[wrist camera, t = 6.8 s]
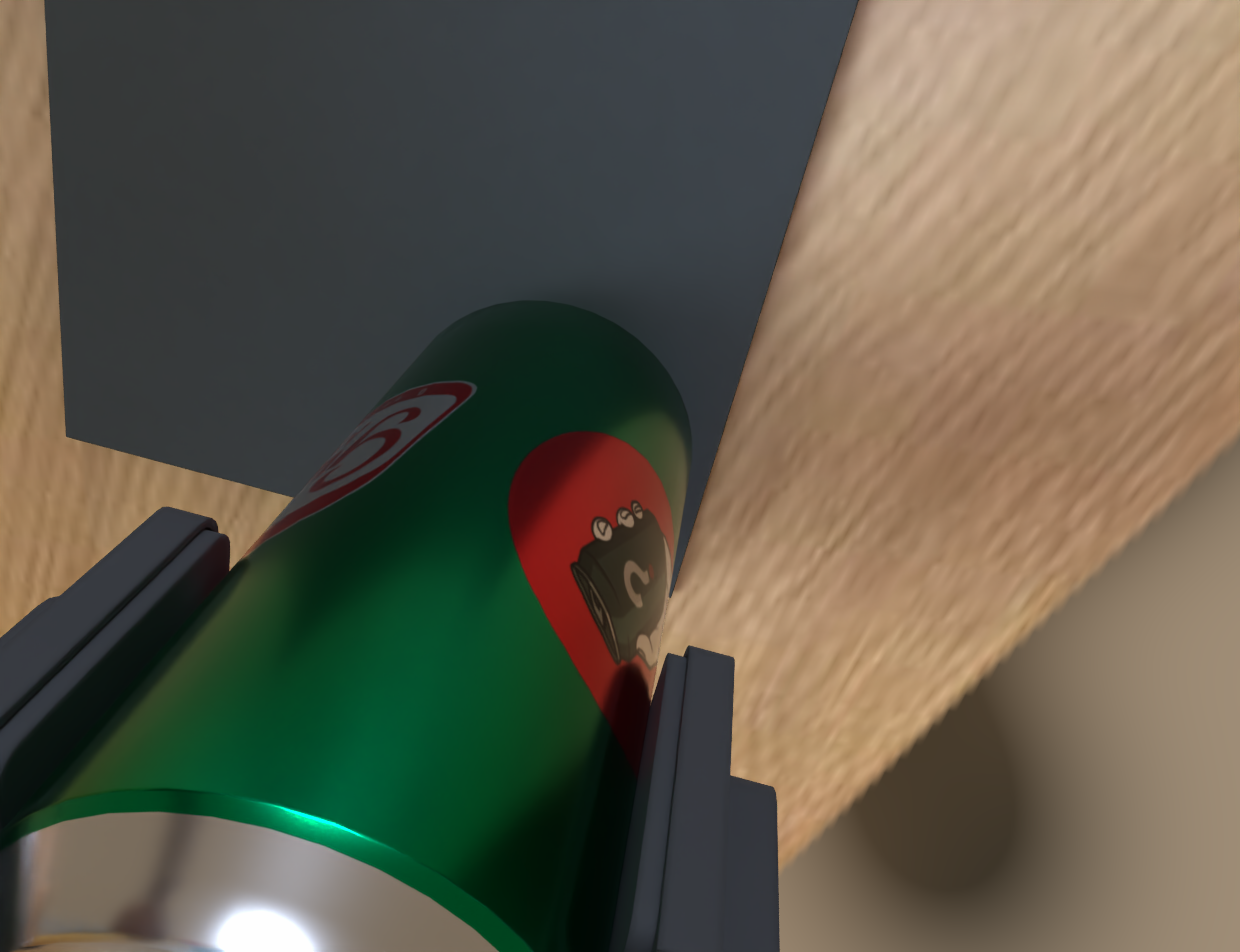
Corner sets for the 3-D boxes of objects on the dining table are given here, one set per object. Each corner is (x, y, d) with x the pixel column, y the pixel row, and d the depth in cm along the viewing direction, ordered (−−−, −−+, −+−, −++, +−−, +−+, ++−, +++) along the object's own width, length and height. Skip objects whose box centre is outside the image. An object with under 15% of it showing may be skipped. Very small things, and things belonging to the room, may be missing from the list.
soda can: (485, 230, 16) (-107, 805, 5) (752, 388, 16) (703, 1184, 6) (370, 462, 18) (-190, 1172, 8) (606, 592, 19) (388, 1412, 8)
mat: (893, -118, 13) (896, -119, 13) (671, 592, 19) (670, 599, 19) (36, -343, 13) (26, -347, 13) (72, 432, 19) (65, 437, 19)
